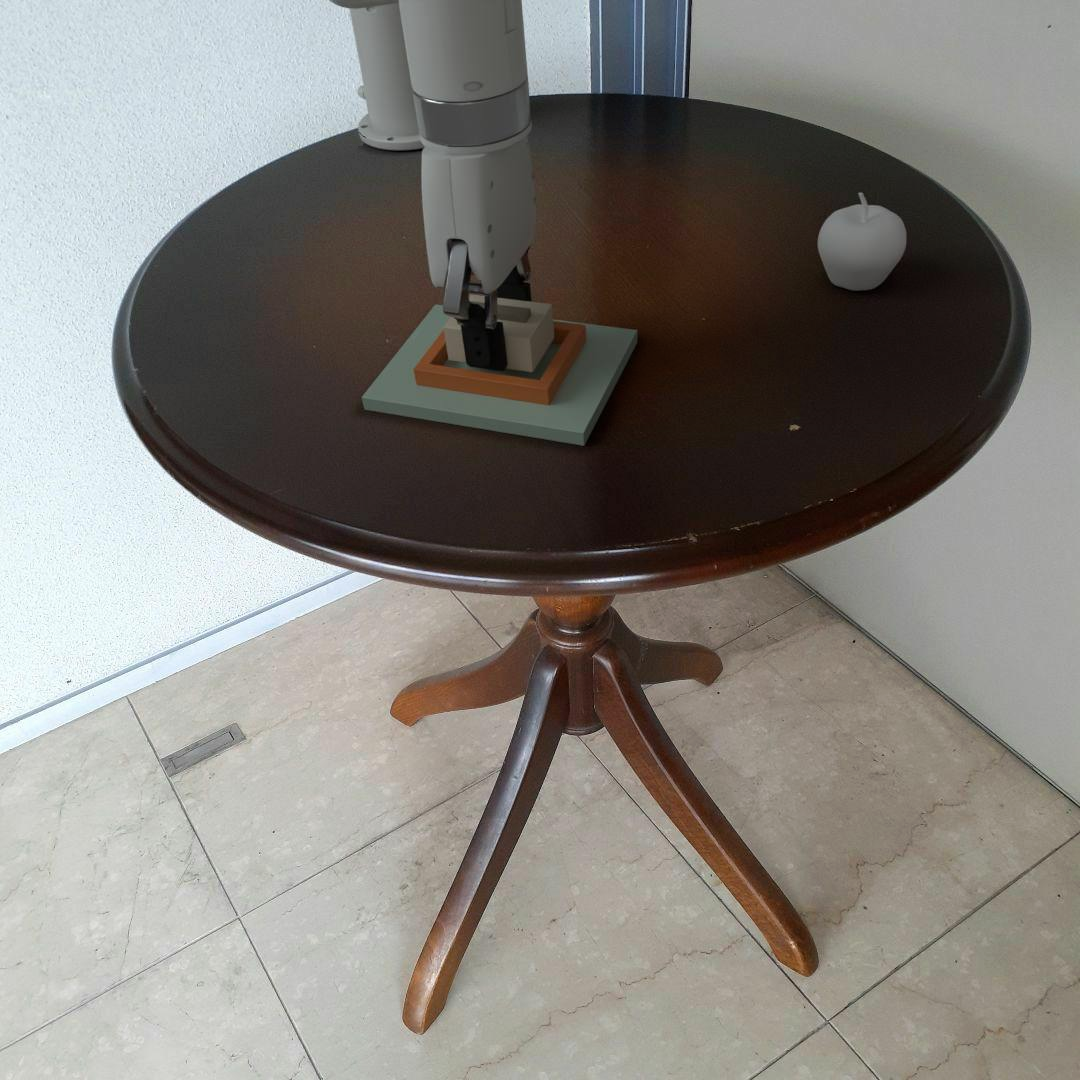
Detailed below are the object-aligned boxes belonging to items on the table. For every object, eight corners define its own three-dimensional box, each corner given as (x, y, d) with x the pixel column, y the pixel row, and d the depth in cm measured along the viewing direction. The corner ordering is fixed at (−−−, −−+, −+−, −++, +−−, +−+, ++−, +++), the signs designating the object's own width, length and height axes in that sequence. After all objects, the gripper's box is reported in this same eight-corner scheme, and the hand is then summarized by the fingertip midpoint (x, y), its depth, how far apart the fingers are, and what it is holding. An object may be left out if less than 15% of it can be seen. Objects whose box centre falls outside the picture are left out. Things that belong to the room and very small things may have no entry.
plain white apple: (804, 264, 91) (814, 177, 85) (885, 257, 91) (900, 169, 85) (823, 306, 86) (835, 215, 80) (909, 298, 86) (926, 207, 80)
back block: (448, 360, 79) (441, 320, 77) (473, 326, 83) (467, 286, 80) (533, 372, 77) (529, 331, 75) (554, 337, 81) (551, 296, 78)
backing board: (364, 409, 80) (357, 381, 78) (437, 316, 89) (432, 288, 87) (584, 446, 74) (582, 416, 73) (637, 342, 84) (637, 313, 82)
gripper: (470, 61, 74) (496, 287, 87) (363, 159, 63) (411, 402, 75) (568, 66, 72) (581, 297, 84) (476, 169, 61) (506, 417, 73)
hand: (500, 344), depth 80 cm, fingers closed on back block, 5 cm apart
